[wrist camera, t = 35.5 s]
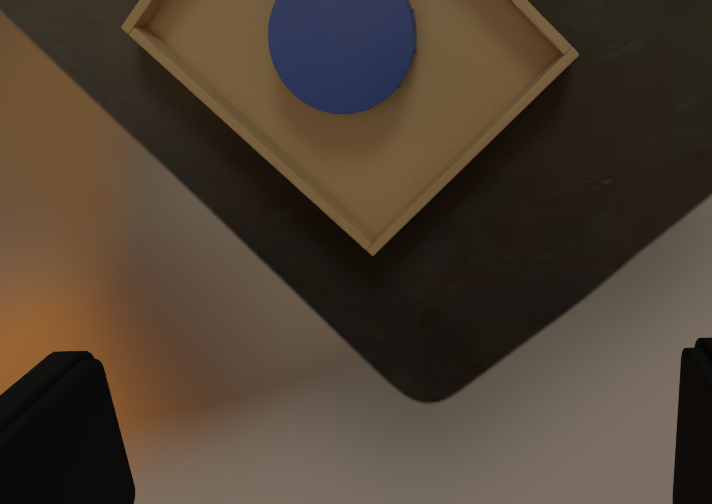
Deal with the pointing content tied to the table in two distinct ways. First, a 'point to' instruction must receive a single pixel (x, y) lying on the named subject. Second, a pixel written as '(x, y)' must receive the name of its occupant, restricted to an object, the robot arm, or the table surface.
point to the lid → (342, 50)
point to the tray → (369, 127)
